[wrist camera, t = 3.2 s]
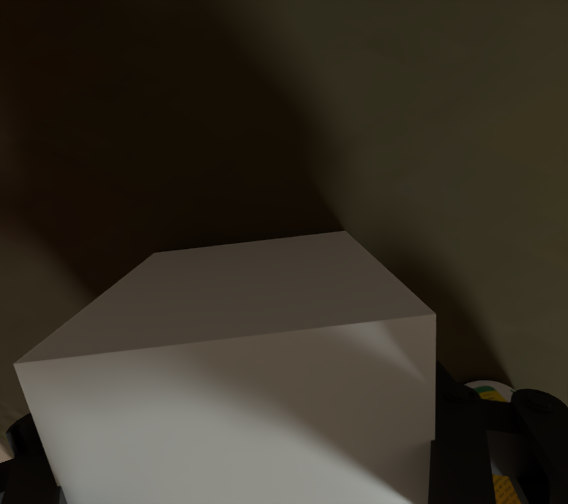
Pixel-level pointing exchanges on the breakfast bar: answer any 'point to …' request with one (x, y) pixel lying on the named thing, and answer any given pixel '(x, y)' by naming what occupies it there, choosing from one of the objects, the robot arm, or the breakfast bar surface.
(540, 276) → the breakfast bar surface
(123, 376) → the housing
